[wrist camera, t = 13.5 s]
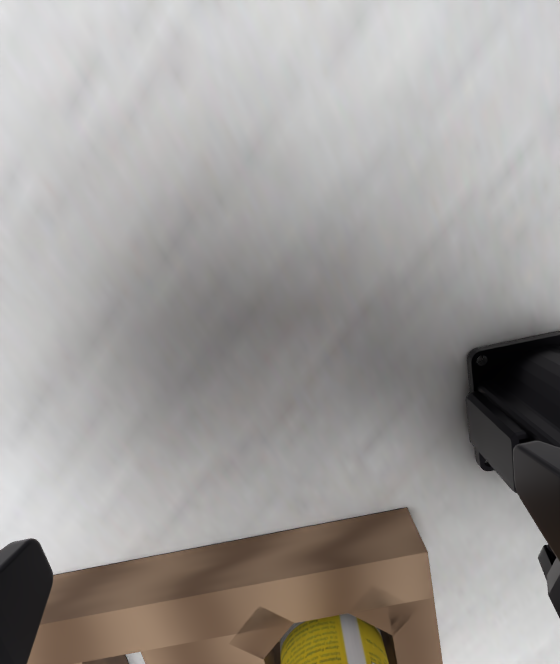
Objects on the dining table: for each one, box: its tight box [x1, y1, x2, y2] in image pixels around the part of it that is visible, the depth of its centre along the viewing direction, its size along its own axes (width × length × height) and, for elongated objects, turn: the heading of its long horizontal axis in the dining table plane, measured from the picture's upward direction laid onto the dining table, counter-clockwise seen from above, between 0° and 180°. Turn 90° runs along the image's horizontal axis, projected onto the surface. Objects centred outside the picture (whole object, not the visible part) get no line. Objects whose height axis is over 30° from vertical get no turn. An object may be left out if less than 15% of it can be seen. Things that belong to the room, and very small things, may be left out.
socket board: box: [27, 508, 443, 664], centre depth 23 cm, size 21×12×3 cm, turn 102°
